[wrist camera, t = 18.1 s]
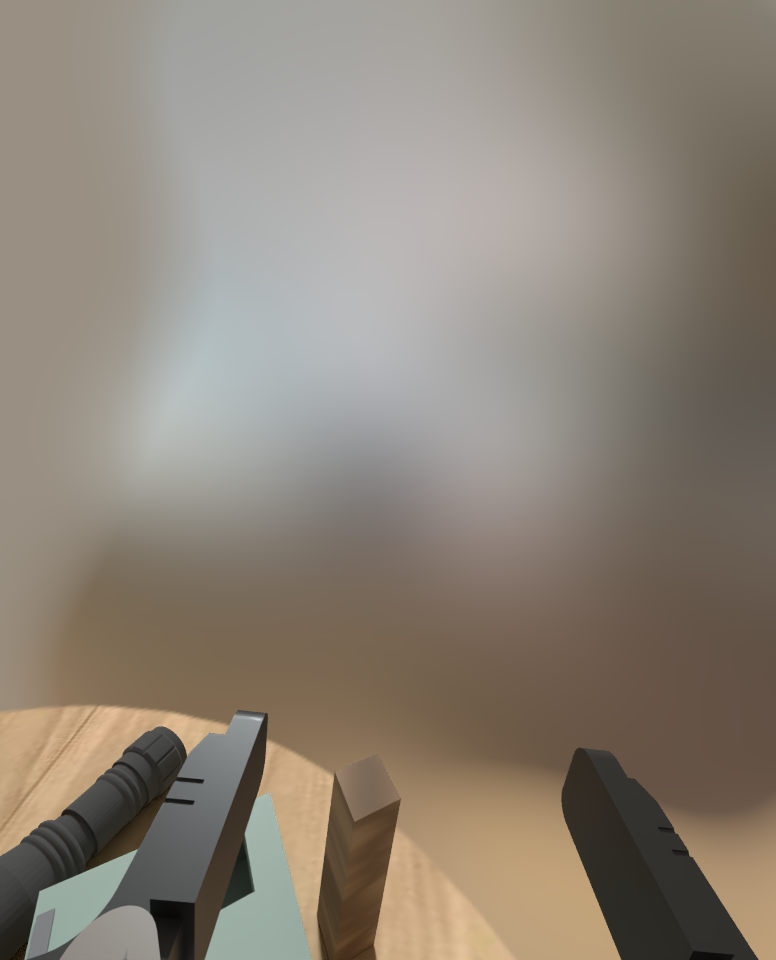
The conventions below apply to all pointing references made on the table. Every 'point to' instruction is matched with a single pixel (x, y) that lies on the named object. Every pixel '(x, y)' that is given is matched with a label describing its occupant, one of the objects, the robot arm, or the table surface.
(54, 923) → the peg-in-hole base
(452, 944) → the table surface
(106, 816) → the flashlight
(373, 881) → the wooden peg
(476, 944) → the table surface
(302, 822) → the table surface
